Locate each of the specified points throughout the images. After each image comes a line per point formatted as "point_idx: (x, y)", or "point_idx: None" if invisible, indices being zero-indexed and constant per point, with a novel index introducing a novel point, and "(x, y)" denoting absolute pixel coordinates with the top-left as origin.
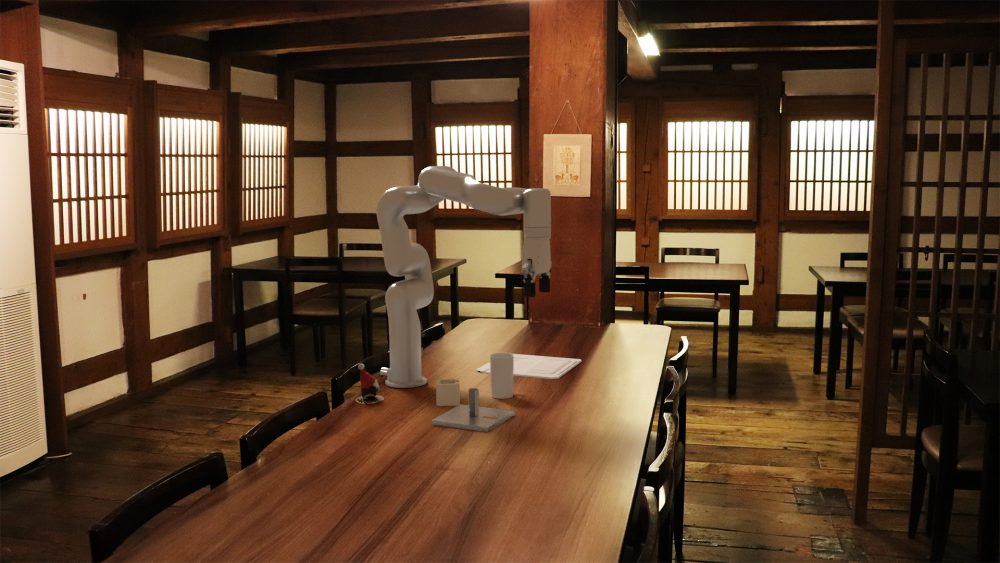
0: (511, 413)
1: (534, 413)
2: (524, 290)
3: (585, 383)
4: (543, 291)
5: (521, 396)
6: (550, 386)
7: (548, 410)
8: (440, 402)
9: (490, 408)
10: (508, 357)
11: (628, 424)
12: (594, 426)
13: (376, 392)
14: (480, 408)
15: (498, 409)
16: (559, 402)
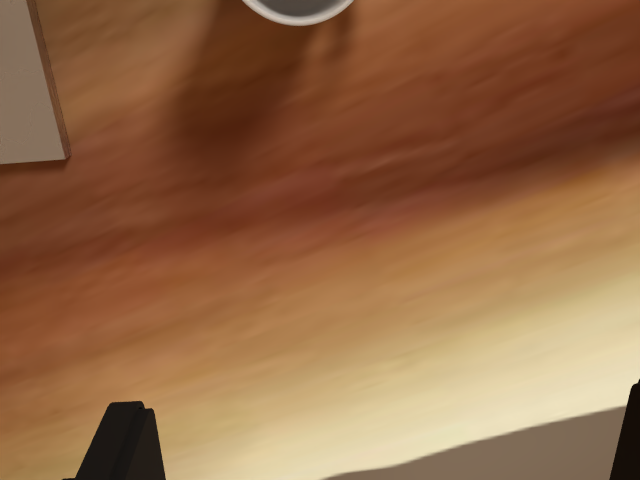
0: (43, 160)
1: (140, 208)
2: (83, 467)
3: (621, 197)
4: (623, 437)
5: (329, 49)
6: (531, 89)
7: (202, 234)
8: None
9: (34, 54)
10: (263, 16)
11: (198, 476)
12: None
13: None
14: (4, 13)
15: (43, 93)
16: (317, 224)
